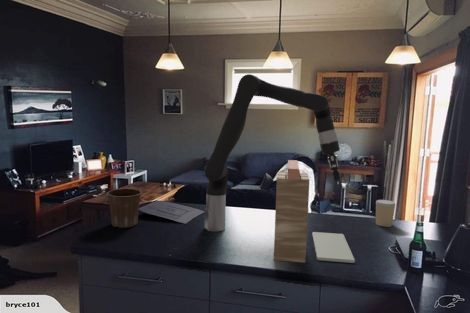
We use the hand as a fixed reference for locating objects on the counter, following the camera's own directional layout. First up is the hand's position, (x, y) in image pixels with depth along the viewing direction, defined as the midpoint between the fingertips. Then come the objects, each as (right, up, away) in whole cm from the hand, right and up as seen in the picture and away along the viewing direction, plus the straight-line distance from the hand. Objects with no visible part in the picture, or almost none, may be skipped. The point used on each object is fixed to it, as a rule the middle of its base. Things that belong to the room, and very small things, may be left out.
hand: (337, 178), depth 156 cm
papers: (-78, -22, +42) cm, 92 cm away
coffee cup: (+33, -26, +33) cm, 54 cm away
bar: (-20, +2, -9) cm, 22 cm away
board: (-3, -29, 0) cm, 29 cm away
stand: (-22, -30, -9) cm, 38 cm away
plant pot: (-97, -24, +24) cm, 103 cm away
